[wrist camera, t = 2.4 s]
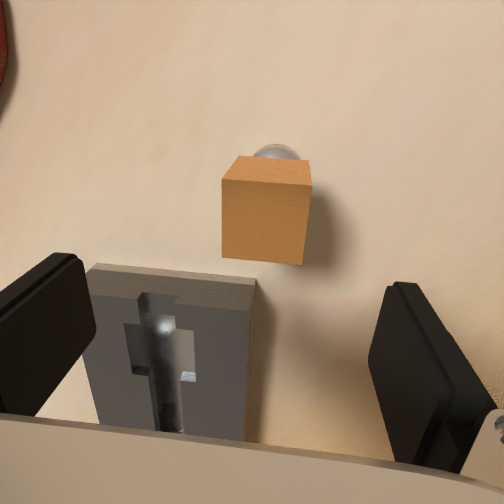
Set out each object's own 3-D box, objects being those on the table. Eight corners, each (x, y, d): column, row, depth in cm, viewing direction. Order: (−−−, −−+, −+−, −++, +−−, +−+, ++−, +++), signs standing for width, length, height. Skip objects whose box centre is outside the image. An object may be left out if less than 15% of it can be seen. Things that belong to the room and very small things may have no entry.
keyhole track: (255, 278, 28) (248, 311, 24) (246, 452, 40) (240, 494, 36) (96, 263, 30) (65, 291, 26) (130, 436, 41) (112, 475, 37)
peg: (306, 146, 23) (312, 185, 15) (300, 202, 25) (301, 265, 17) (248, 142, 23) (221, 178, 15) (246, 197, 25) (221, 257, 17)
